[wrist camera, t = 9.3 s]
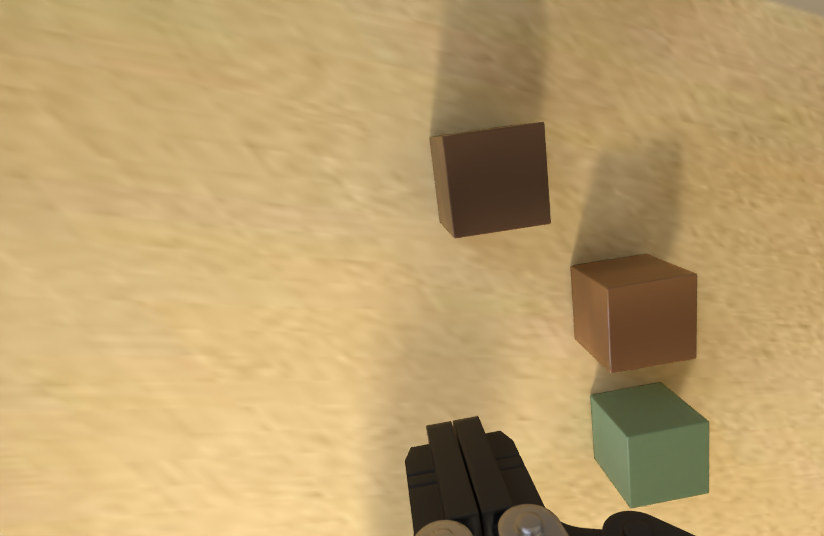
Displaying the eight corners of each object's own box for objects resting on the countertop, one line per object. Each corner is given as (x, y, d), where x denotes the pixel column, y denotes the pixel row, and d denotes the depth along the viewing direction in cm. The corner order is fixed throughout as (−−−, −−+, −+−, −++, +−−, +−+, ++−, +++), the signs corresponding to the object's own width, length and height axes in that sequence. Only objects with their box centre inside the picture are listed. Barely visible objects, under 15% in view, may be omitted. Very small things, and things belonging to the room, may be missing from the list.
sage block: (589, 394, 30) (627, 437, 26) (661, 381, 31) (710, 421, 26) (593, 458, 31) (630, 509, 27) (662, 445, 32) (709, 493, 27)
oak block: (569, 265, 28) (607, 288, 24) (647, 253, 28) (698, 273, 24) (574, 339, 29) (610, 373, 25) (648, 326, 30) (697, 359, 25)
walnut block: (429, 136, 26) (442, 136, 21) (514, 124, 26) (544, 121, 22) (439, 222, 27) (454, 238, 23) (521, 210, 27) (551, 223, 23)
